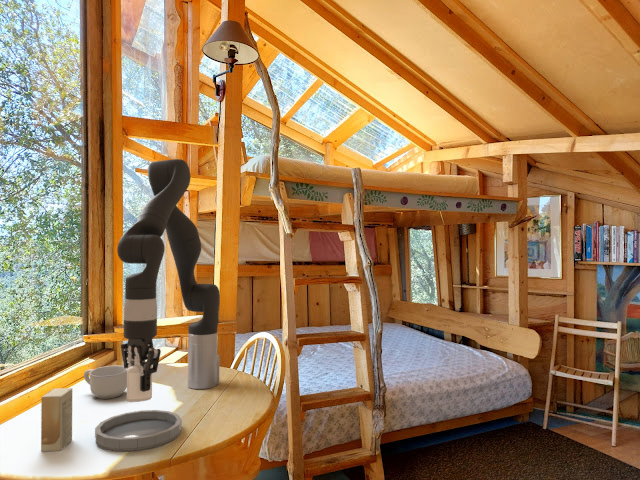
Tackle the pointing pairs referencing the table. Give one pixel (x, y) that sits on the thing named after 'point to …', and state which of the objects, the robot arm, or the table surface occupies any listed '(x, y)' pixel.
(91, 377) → the teacup
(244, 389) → the table surface
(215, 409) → the table surface
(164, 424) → the round tray
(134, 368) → the eye dropper bottle
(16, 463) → the table surface
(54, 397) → the skincare box
